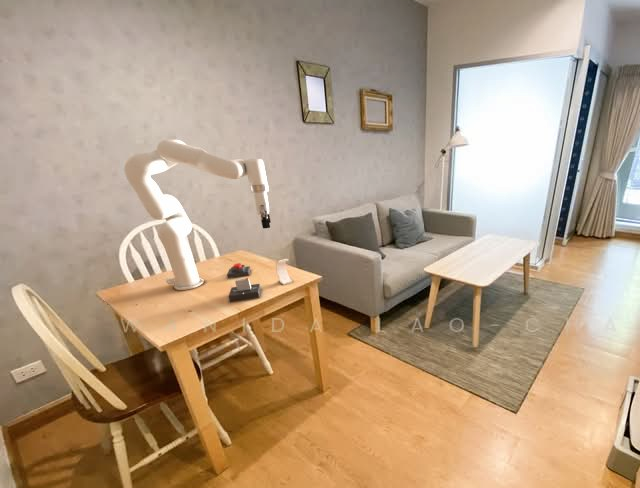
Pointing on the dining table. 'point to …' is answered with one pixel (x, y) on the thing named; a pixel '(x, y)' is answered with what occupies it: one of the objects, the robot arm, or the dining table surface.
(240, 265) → the button
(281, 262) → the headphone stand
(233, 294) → the device
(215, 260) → the dining table surface
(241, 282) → the grey rectangular block
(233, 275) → the button block
